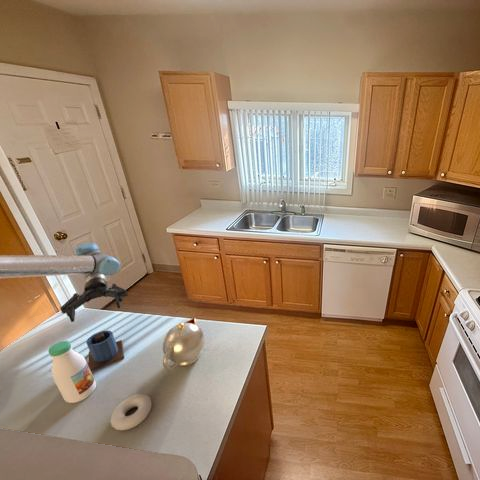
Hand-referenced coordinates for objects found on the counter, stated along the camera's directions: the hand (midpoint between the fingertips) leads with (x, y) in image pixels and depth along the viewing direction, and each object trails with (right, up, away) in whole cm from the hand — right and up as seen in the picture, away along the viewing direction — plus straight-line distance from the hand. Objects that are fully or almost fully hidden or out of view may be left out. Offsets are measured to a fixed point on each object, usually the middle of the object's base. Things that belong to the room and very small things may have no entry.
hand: (95, 311), depth 96 cm
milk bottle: (+8, -22, -14) cm, 27 cm away
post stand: (+5, -16, -1) cm, 17 cm away
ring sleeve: (+5, -15, -2) cm, 16 cm away
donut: (+29, -26, -20) cm, 43 cm away
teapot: (+35, -18, -1) cm, 39 cm away
